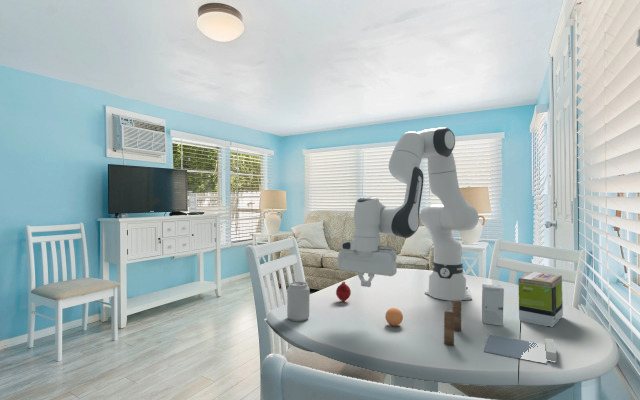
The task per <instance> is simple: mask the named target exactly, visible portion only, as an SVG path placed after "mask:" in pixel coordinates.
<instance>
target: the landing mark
mask: <svg viewBox="0 0 640 400" xmlns="http://www.w3.org/2000/svg"><path fill="white" fill-rule="evenodd" d="M529 341H530V340H529ZM529 341H528V340H525V339H523V340H522V339H517V338H511V337H507V336H501V335H495V334H490V333H489V334H488V336H487V340H486V344H485V347H484V351H483V352H484V353H488V354H493V355H497V356H502V355H503V356H502V357H507V356H508V357H507V358H511V357H514V358H513V359H516V358H519V357H520V358H521V357H522V356H521V355H523V352H524V353H525V352H526V351H527V350H528V352H529V348H530V349H531V347H533V346H534V345H535V344H536V343H537V342H536V343H534V341H532V342H533V343H532V344H531V343H529ZM530 344H531V345H530ZM533 344H534V345H533ZM529 345H530V346H531V347H530V346H529ZM532 345H533V346H532ZM536 345H537V344H536ZM536 345H535V346H536ZM535 346H534V347H535ZM534 347H533V348H534ZM537 347H538V346H537Z"/></svg>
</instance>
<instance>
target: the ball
mask: <svg viewBox="0 0 640 400" xmlns="http://www.w3.org/2000/svg"><path fill="white" fill-rule="evenodd" d="M403 319H404V316H403V313H402V311H401V310H400V309H399V308H398V307H397V308H396V307H391V308H389V309H387V311H386V312H385V320H386V322H387V323H388V324H389V325H390V326H392V327H397V326H399V325H400V324H402V323H403Z"/></svg>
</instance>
